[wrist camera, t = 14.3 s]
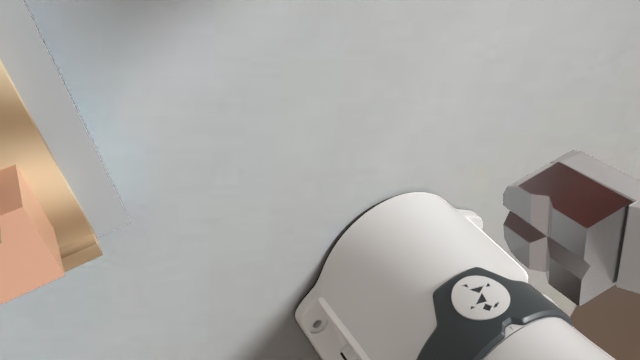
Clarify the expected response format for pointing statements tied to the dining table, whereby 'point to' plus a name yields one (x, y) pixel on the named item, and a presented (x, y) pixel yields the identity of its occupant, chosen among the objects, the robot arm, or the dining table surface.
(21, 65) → the dock
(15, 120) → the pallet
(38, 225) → the block
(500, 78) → the dining table surface
